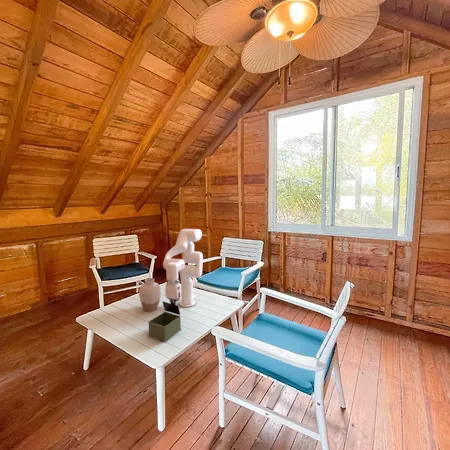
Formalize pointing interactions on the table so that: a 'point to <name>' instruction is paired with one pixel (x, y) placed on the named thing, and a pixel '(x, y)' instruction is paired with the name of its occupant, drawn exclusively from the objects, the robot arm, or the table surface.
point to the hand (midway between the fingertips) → (173, 307)
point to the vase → (150, 294)
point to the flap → (171, 308)
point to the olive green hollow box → (170, 324)
